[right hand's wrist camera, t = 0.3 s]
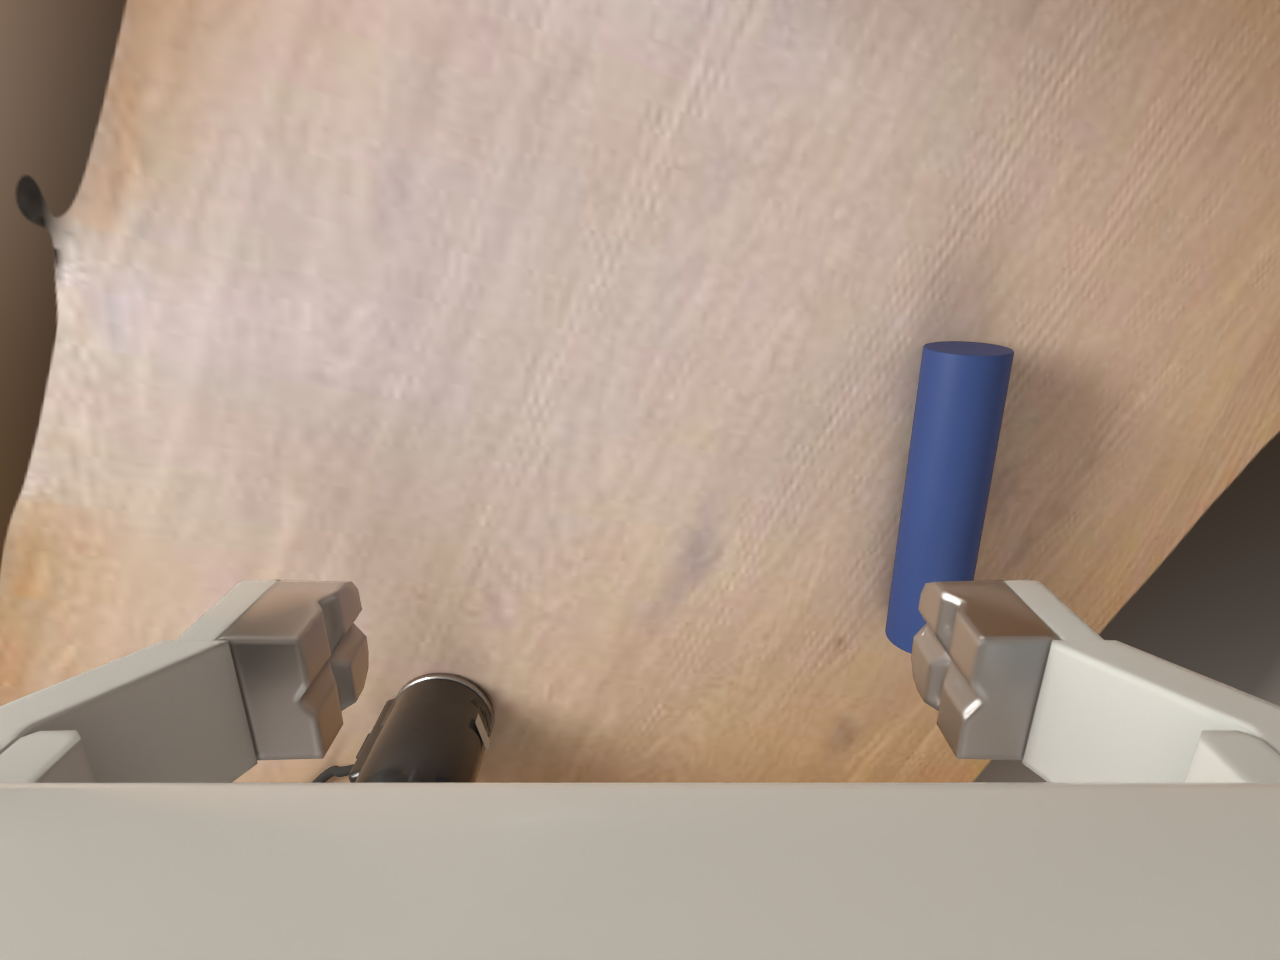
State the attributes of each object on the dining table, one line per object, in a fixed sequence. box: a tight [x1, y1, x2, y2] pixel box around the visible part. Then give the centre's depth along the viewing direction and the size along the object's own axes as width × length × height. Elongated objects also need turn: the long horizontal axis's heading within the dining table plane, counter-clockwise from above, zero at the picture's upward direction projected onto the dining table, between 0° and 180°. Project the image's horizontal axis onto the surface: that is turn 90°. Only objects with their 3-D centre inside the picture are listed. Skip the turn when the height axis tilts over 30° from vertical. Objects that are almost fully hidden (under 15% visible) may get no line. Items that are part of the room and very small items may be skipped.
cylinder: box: [885, 341, 1014, 654], centre depth 56 cm, size 25×6×6 cm, turn 0°
